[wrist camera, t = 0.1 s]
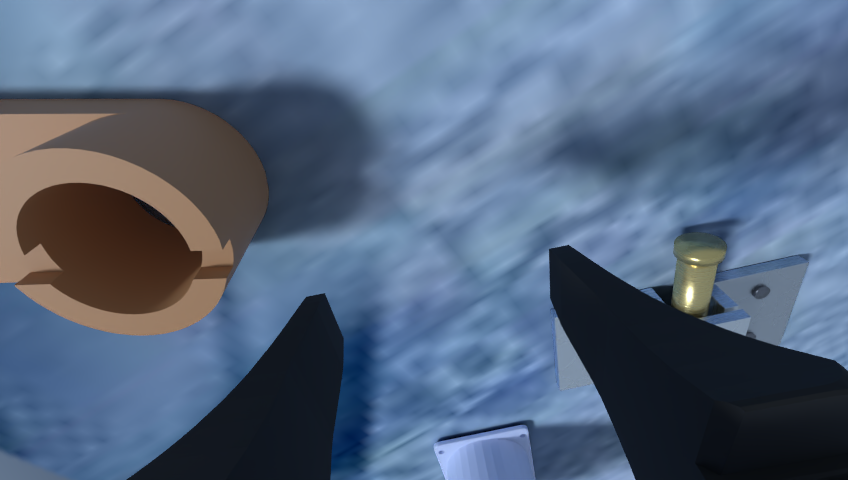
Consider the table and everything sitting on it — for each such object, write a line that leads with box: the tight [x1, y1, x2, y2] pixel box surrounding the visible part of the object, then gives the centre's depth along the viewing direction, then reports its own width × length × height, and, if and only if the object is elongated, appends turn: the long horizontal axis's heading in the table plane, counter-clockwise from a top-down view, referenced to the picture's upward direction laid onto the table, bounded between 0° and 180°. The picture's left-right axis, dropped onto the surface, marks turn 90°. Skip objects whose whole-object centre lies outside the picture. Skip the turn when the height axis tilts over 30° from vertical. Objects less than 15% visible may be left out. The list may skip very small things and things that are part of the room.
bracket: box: [0, 99, 269, 335], centre depth 18 cm, size 18×8×7 cm, turn 89°
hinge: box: [551, 255, 809, 391], centre depth 28 cm, size 8×16×4 cm, turn 103°
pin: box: [671, 232, 727, 318], centre depth 26 cm, size 9×2×2 cm, turn 13°
